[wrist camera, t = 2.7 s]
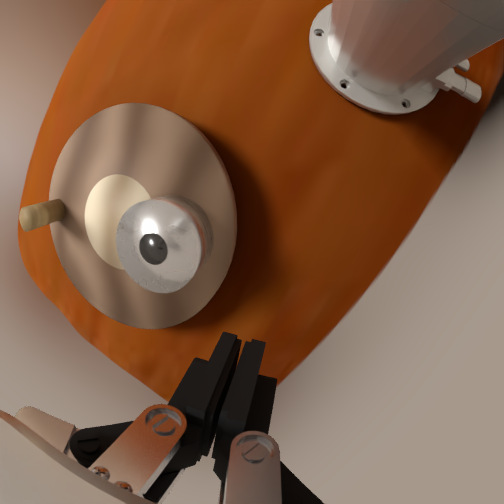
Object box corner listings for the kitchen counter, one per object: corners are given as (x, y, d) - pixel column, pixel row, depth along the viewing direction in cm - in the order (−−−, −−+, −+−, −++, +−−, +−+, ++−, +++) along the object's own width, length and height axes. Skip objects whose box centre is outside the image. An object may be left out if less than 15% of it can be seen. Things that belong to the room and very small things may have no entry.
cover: (219, 202, 21) (203, 209, 17) (208, 284, 23) (192, 304, 20) (142, 189, 21) (117, 194, 18) (137, 265, 24) (115, 279, 20)
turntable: (259, 113, 19) (241, 91, 13) (219, 347, 27) (198, 390, 20) (66, 111, 22) (23, 107, 16) (63, 288, 29) (29, 309, 23)
